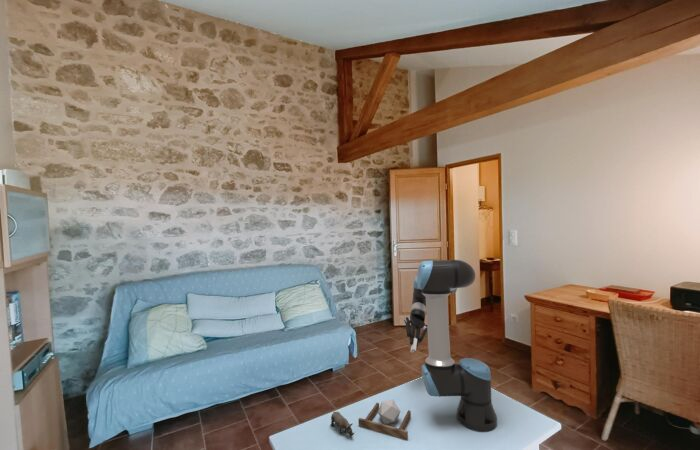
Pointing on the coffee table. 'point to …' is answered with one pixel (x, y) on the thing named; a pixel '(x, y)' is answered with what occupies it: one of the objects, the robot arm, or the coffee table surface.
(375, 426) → the frame
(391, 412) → the die
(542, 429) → the coffee table surface
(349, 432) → the rhino figurine
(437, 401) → the coffee table surface
